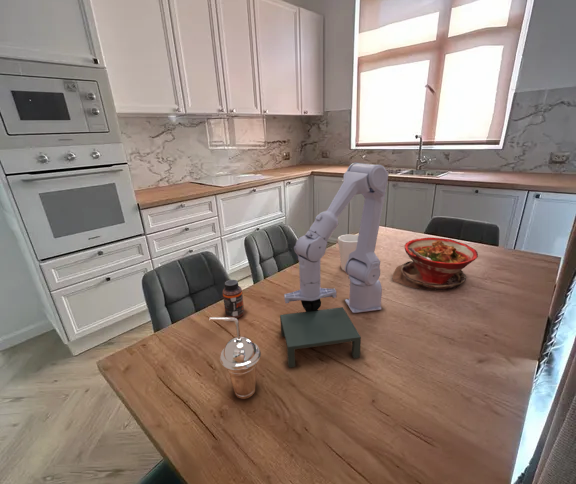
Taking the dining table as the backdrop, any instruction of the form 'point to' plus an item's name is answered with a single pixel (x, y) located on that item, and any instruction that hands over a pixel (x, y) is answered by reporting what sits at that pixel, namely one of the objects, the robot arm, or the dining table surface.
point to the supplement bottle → (233, 299)
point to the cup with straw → (240, 361)
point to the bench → (318, 330)
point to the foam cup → (346, 247)
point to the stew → (434, 263)
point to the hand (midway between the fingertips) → (310, 320)
